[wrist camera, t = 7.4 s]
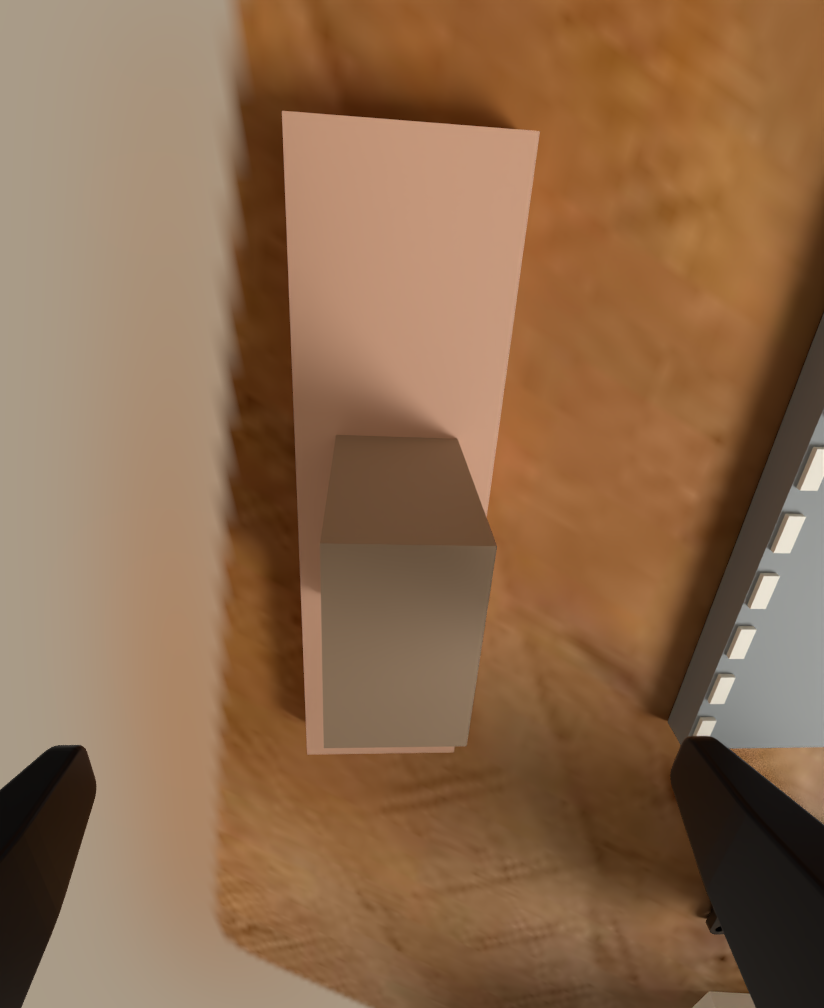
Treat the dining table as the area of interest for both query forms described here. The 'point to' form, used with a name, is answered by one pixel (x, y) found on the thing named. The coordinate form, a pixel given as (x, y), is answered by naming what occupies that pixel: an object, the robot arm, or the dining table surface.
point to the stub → (398, 412)
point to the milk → (725, 1000)
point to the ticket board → (770, 599)
